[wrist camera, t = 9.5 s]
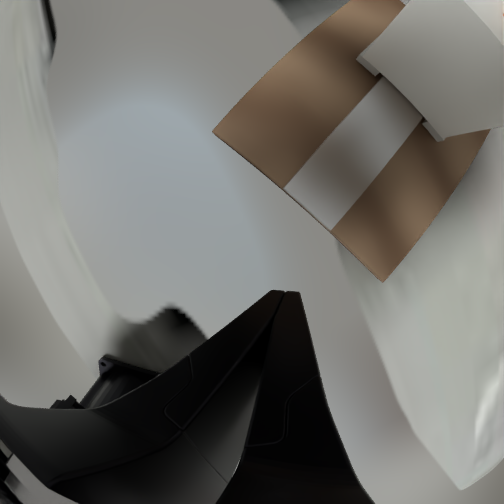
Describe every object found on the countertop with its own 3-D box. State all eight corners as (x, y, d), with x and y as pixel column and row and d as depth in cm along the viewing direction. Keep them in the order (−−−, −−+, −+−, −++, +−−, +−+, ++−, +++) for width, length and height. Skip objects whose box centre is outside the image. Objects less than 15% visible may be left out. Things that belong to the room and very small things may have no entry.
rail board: (376, 277, 18) (404, 300, 14) (215, 135, 17) (201, 118, 12) (491, 112, 15) (525, 105, 11) (371, -10, 13) (389, -40, 9)
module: (437, 141, 15) (567, 122, 4) (355, 59, 14) (441, -42, 3) (465, 100, 14) (574, 68, 3) (392, 24, 13) (471, -59, 2)
